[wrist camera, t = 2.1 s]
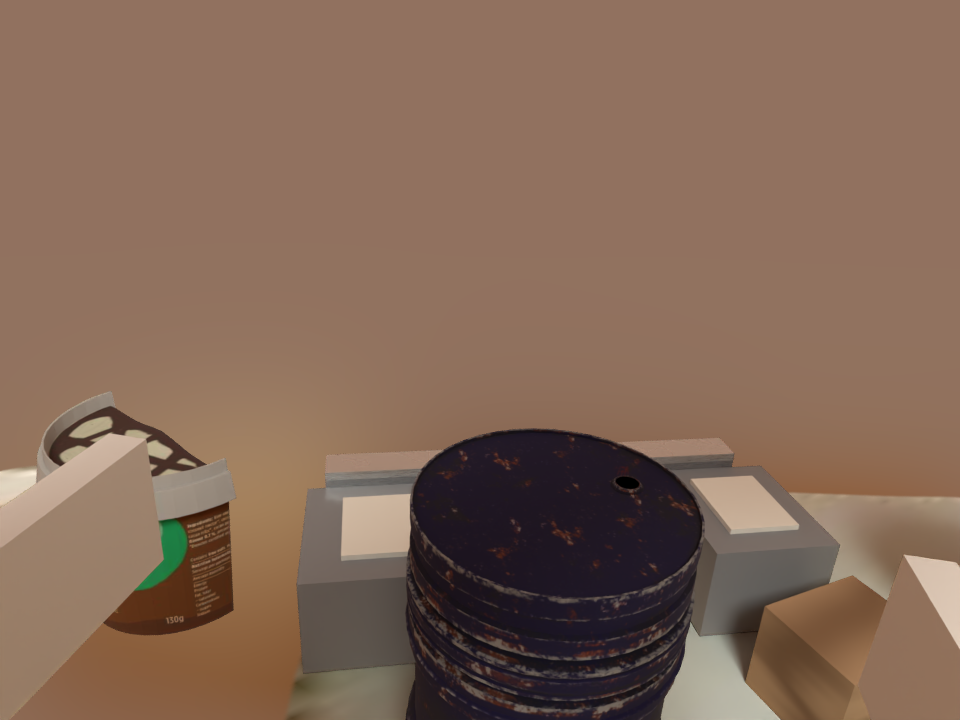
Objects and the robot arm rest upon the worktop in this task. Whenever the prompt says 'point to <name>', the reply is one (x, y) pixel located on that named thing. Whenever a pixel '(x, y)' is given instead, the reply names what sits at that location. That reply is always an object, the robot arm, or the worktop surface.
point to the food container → (162, 520)
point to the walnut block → (816, 652)
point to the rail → (408, 464)
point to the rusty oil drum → (548, 579)
